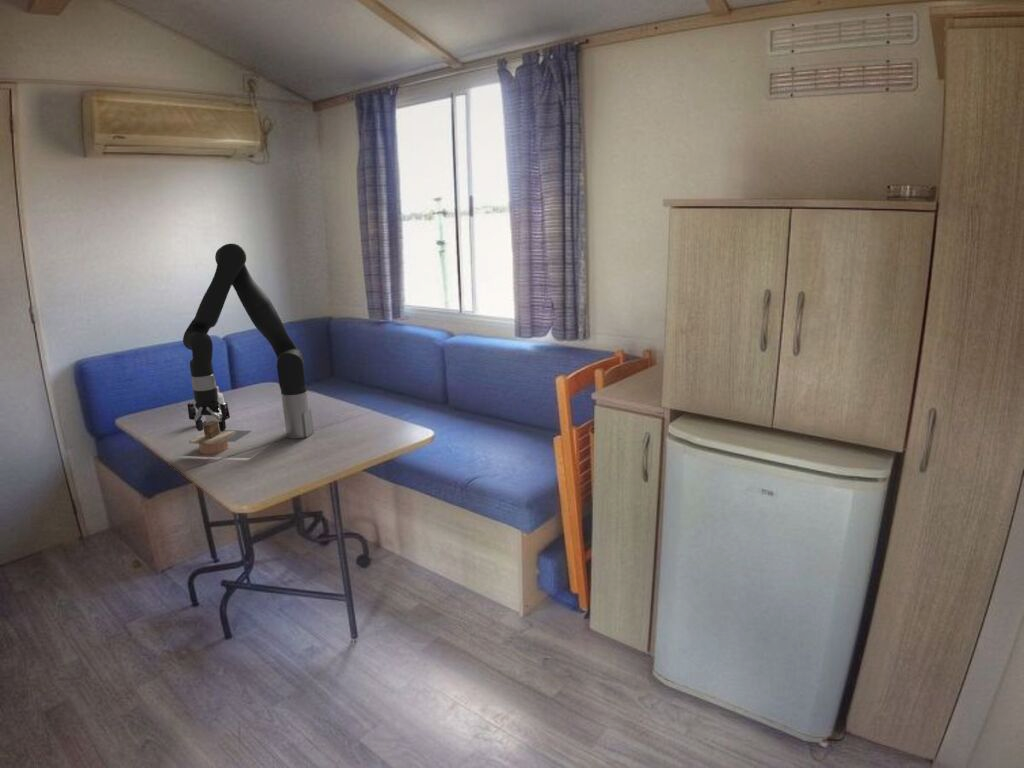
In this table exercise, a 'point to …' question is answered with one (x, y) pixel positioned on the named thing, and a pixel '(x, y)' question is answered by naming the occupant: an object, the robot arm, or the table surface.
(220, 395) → the pill bottle
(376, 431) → the table surface
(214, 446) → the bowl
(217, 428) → the lid
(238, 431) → the mat
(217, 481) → the table surface
